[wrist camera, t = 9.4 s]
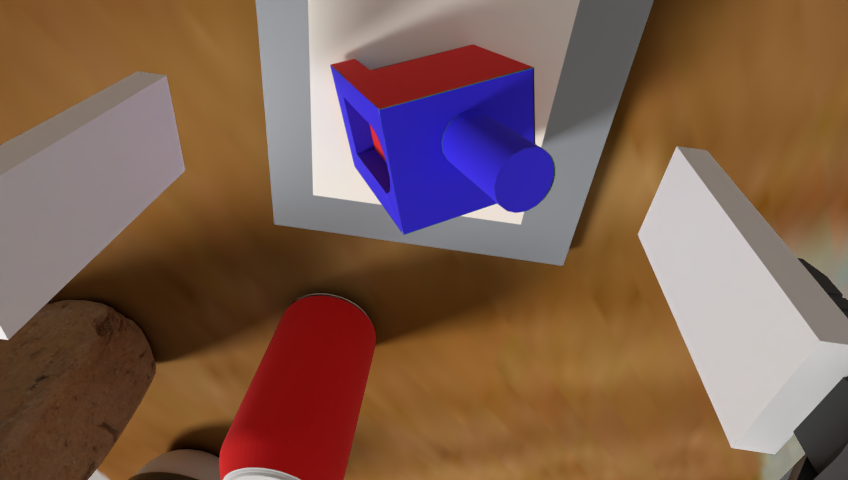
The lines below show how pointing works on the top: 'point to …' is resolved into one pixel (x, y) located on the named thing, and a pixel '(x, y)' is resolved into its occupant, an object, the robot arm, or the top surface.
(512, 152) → the toy building block
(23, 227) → the robot arm
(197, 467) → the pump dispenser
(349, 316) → the beverage can
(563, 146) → the build base
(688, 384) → the top surface
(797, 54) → the top surface
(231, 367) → the top surface
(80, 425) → the block
